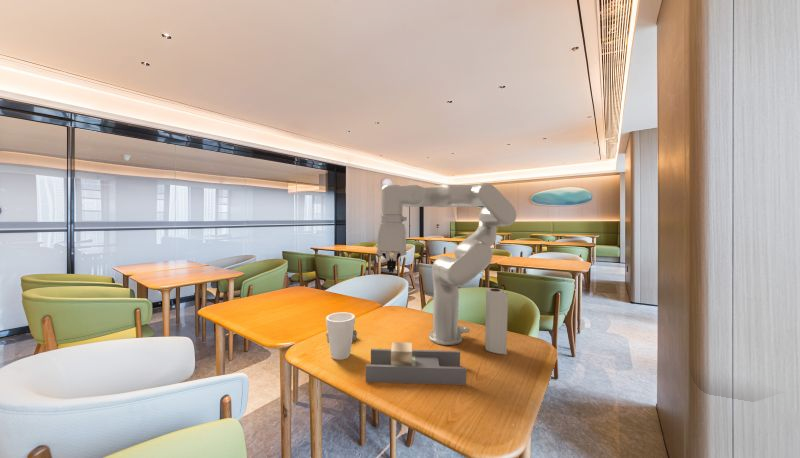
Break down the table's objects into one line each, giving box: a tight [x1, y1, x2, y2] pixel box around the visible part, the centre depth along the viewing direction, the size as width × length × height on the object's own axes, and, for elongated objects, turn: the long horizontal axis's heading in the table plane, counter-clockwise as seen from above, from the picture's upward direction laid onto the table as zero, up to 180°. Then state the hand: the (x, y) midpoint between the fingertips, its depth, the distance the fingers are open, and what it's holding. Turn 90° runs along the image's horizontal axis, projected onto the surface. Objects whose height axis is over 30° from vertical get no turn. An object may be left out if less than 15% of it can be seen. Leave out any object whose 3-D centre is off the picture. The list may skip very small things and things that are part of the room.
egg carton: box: [325, 329, 359, 344], centre depth 110 cm, size 11×8×4 cm
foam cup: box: [325, 311, 356, 360], centre depth 98 cm, size 10×9×13 cm
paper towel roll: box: [484, 287, 509, 356], centre depth 102 cm, size 7×6×21 cm
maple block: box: [390, 342, 413, 366], centre depth 87 cm, size 6×6×5 cm
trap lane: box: [365, 348, 467, 386], centre depth 87 cm, size 28×11×4 cm, turn 88°
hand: (391, 271), depth 104 cm, fingers closed
